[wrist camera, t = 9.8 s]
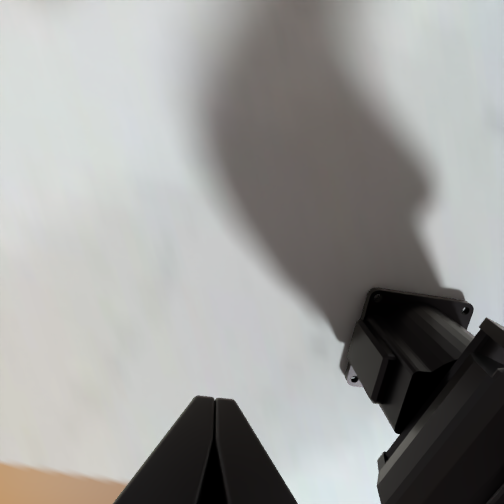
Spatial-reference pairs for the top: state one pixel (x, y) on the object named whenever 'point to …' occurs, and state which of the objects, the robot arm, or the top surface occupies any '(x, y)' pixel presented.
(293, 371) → the top surface
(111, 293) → the top surface
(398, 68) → the top surface
